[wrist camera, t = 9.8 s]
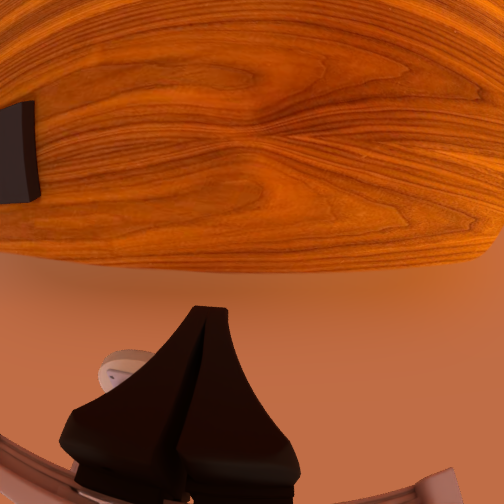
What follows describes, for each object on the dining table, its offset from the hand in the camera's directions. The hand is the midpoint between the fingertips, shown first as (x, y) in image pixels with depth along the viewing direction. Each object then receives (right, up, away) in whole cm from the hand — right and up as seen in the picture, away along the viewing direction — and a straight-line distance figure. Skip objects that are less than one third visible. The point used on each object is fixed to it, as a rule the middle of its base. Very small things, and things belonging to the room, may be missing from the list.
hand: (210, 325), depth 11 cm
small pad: (-21, +11, +5) cm, 24 cm away
